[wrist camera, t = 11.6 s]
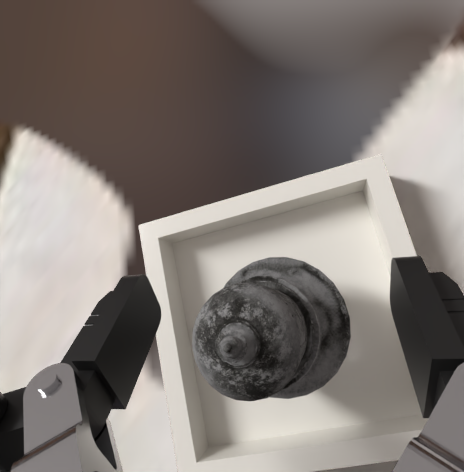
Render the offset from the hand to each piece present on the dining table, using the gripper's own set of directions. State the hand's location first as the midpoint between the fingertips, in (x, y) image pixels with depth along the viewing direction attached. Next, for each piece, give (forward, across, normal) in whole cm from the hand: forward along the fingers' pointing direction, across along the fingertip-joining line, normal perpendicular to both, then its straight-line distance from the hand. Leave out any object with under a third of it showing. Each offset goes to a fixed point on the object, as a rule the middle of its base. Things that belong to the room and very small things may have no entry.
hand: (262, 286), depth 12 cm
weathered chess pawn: (+4, 0, +6) cm, 8 cm away
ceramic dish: (+5, 0, +7) cm, 8 cm away
